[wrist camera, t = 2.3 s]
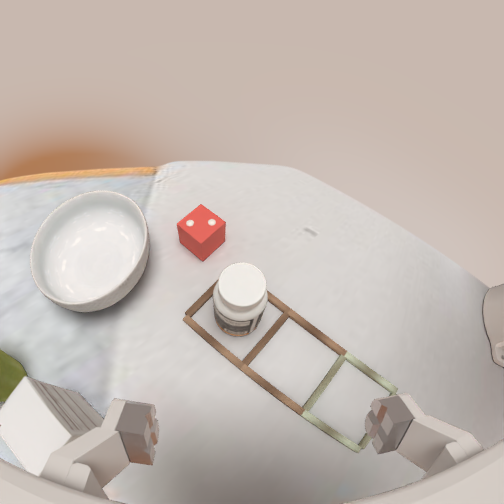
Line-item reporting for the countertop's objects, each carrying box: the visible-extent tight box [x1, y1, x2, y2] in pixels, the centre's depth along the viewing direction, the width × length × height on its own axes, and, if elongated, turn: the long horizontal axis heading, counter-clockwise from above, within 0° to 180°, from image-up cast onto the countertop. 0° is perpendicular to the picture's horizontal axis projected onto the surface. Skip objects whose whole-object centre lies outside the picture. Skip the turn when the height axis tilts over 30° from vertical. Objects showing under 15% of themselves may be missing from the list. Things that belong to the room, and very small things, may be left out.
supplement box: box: [0, 376, 104, 477], centre depth 21 cm, size 7×7×13 cm
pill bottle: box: [213, 262, 268, 336], centre depth 33 cm, size 6×6×10 cm
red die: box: [177, 204, 226, 261], centre depth 40 cm, size 4×4×5 cm
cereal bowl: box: [30, 191, 150, 312], centre depth 35 cm, size 17×17×7 cm
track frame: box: [183, 279, 398, 453], centre depth 34 cm, size 28×10×1 cm, turn 51°
